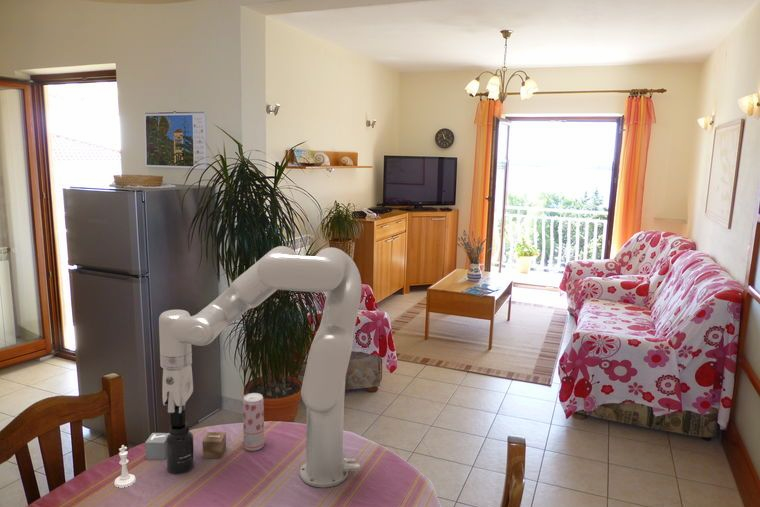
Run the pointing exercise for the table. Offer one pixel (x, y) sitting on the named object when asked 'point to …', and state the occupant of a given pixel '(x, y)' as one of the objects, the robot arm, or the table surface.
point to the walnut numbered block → (214, 445)
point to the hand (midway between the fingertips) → (178, 424)
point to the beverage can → (253, 421)
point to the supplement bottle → (179, 449)
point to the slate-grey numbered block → (156, 446)
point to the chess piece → (124, 471)
